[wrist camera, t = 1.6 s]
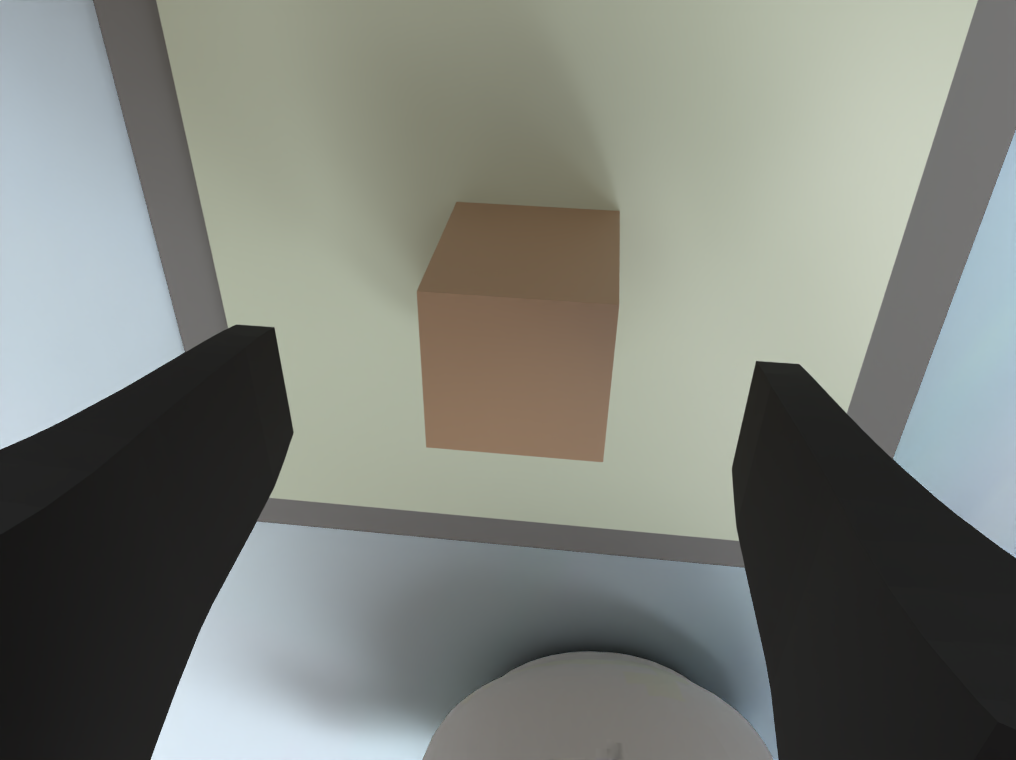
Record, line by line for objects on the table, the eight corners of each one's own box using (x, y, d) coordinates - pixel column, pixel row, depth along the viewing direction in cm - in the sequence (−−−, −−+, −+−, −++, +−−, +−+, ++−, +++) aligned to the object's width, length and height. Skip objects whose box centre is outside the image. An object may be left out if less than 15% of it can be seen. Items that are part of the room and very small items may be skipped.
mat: (1137, -236, 11) (1152, -238, 11) (844, 565, 20) (848, 577, 20) (44, -242, 12) (29, -244, 12) (234, 508, 22) (228, 518, 21)
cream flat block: (995, -109, 12) (1146, -85, 8) (799, 528, 19) (837, 677, 16) (147, -125, 13) (-21, -110, 9) (274, 481, 20) (205, 610, 17)
